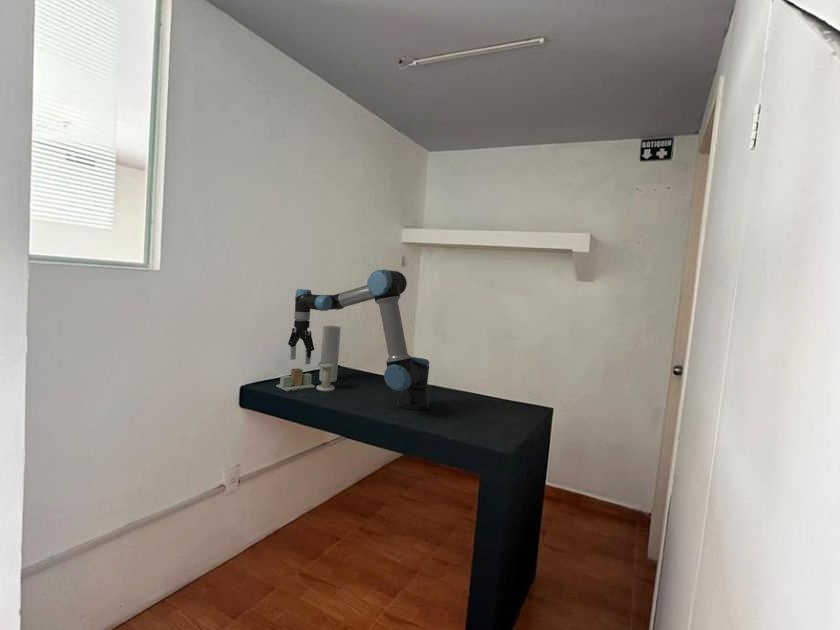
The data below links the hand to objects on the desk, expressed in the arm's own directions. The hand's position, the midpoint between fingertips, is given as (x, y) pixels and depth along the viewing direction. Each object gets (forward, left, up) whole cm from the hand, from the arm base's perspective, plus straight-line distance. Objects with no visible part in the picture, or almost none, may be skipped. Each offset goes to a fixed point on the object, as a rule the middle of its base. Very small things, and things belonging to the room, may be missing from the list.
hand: (300, 361), depth 226 cm
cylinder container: (+5, -21, -13) cm, 25 cm away
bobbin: (-10, -9, -13) cm, 19 cm away
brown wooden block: (0, +2, -12) cm, 12 cm away
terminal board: (0, +2, -13) cm, 13 cm away
